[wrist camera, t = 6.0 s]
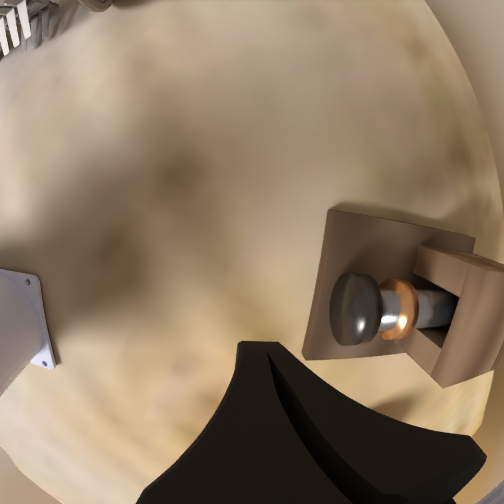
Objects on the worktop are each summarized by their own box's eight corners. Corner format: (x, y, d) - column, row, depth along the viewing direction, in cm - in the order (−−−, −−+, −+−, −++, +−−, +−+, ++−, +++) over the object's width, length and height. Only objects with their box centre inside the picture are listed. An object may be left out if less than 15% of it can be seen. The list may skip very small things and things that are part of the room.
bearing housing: (301, 352, 19) (338, 427, 12) (327, 209, 17) (399, 228, 9) (438, 341, 21) (488, 382, 13) (467, 235, 19) (533, 256, 11)
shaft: (324, 325, 17) (350, 360, 13) (337, 264, 16) (370, 287, 12) (450, 319, 18) (481, 340, 15) (464, 273, 18) (498, 289, 14)
